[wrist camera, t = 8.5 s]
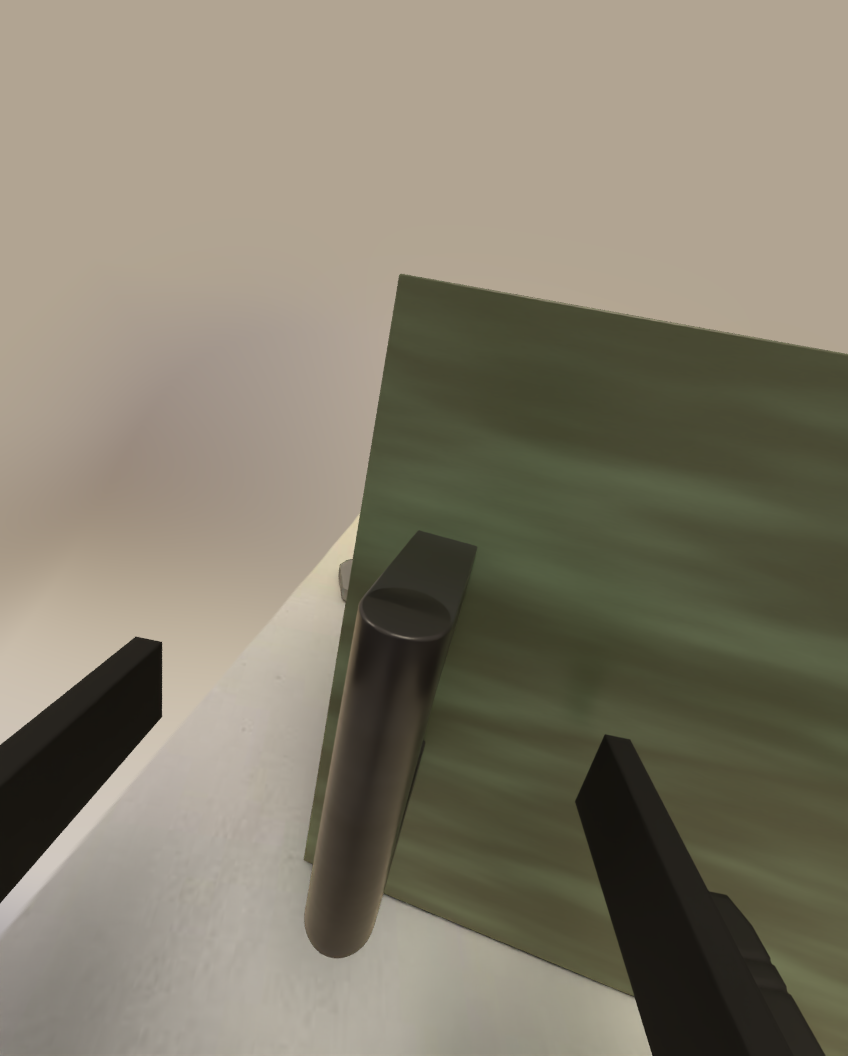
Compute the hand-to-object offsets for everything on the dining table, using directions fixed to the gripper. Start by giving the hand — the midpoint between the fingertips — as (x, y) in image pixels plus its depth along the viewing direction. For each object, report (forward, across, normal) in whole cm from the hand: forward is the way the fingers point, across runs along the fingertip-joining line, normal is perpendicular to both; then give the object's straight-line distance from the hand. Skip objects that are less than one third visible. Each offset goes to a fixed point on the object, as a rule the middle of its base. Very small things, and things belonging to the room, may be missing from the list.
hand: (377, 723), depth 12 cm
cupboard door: (-2, +11, -12) cm, 16 cm away
